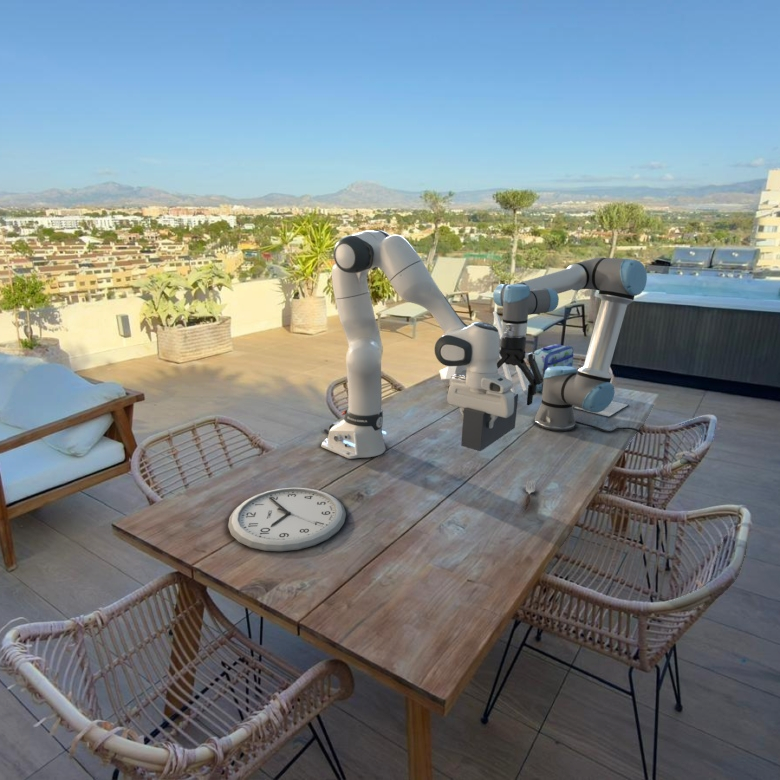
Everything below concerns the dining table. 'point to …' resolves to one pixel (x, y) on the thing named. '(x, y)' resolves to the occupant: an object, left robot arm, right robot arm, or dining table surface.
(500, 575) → the dining table surface
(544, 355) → the lunch box
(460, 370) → the white plastic object
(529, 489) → the fork
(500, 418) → the box
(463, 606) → the dining table surface
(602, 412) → the invitation card
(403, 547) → the dining table surface
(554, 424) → the right robot arm
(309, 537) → the wall clock
